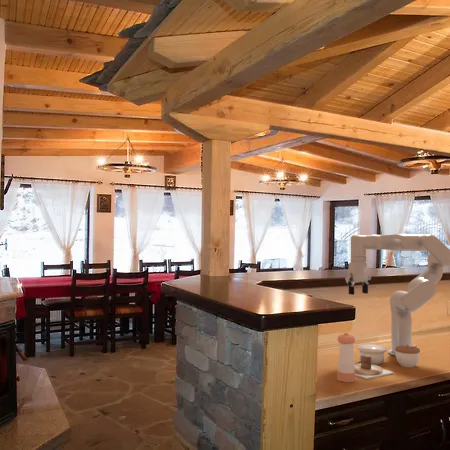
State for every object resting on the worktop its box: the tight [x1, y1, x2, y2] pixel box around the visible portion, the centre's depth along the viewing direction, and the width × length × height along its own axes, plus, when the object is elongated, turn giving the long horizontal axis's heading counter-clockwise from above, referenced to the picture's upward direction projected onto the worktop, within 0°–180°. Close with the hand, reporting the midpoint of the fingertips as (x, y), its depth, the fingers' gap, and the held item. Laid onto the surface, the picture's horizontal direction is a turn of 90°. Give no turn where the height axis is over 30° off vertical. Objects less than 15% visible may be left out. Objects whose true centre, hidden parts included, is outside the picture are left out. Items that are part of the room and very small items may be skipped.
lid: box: [354, 355, 384, 375], centre depth 212 cm, size 14×14×6 cm
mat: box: [355, 368, 395, 380], centre depth 212 cm, size 17×16×1 cm
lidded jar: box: [394, 345, 421, 368], centre depth 223 cm, size 11×11×9 cm
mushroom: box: [357, 343, 387, 366], centre depth 228 cm, size 13×13×7 cm
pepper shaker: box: [336, 332, 356, 383], centre depth 200 cm, size 7×7×19 cm
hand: (358, 293), depth 244 cm, fingers open, 9 cm apart
